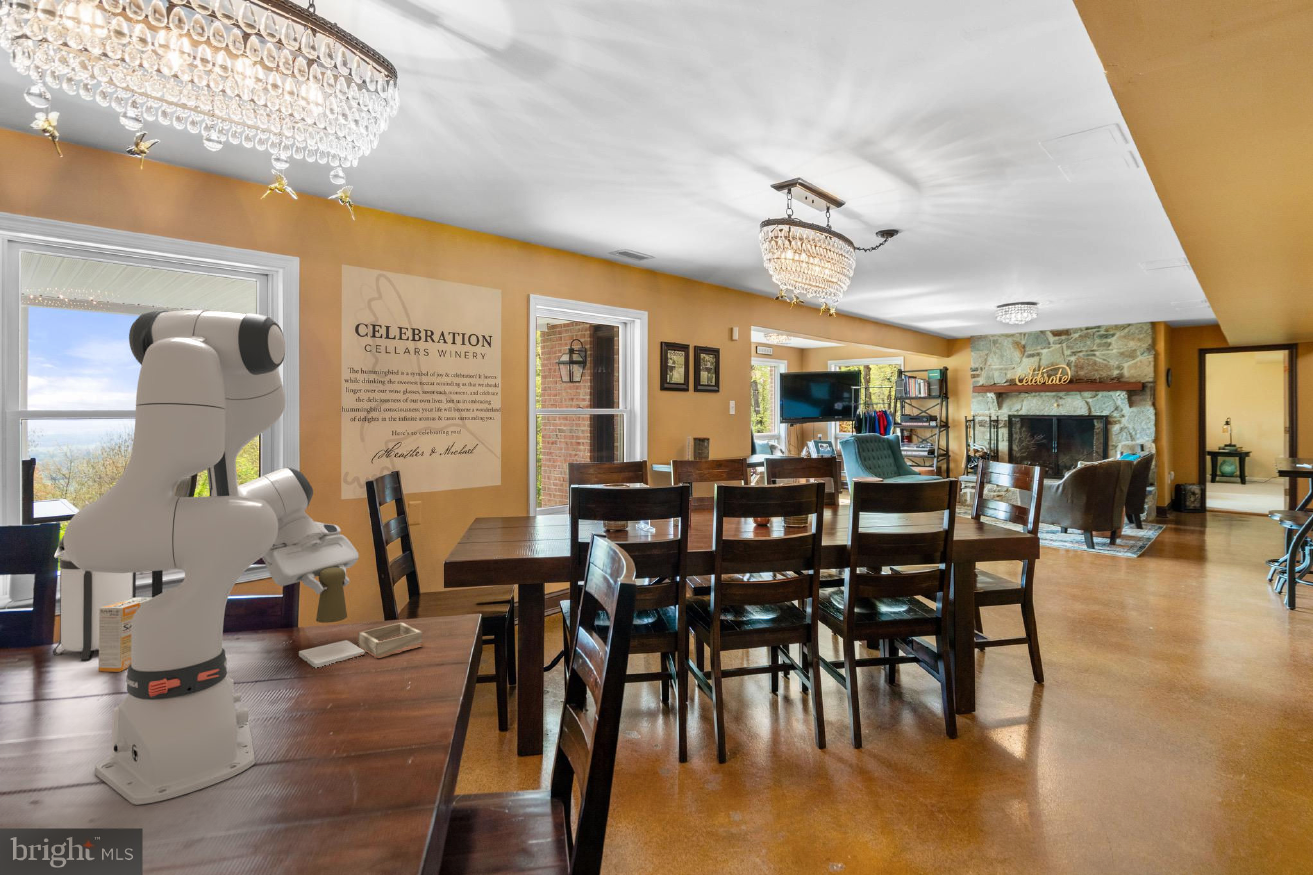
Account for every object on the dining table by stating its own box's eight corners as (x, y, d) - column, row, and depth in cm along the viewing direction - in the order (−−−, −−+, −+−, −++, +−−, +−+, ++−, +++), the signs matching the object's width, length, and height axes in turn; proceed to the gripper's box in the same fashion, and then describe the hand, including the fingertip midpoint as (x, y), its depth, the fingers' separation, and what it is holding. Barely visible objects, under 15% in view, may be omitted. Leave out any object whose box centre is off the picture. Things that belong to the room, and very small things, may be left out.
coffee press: (131, 656, 130) (132, 518, 130) (34, 666, 124) (35, 521, 124) (163, 631, 146) (164, 508, 146) (78, 639, 140) (79, 510, 140)
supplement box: (120, 672, 122) (121, 607, 122) (97, 671, 122) (97, 607, 122) (155, 657, 130) (155, 596, 130) (133, 656, 130) (134, 596, 130)
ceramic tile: (364, 655, 133) (364, 650, 133) (315, 668, 125) (315, 663, 125) (346, 644, 140) (346, 639, 140) (298, 655, 132) (298, 651, 132)
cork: (353, 614, 135) (353, 565, 135) (335, 623, 129) (336, 572, 129) (327, 613, 136) (328, 564, 136) (309, 621, 130) (310, 570, 130)
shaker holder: (421, 647, 138) (422, 631, 138) (377, 659, 131) (377, 643, 131) (401, 636, 145) (401, 622, 145) (358, 647, 138) (358, 632, 138)
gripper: (265, 539, 124) (302, 590, 122) (343, 524, 144) (376, 568, 141) (248, 558, 126) (284, 610, 123) (328, 541, 145) (360, 585, 143)
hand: (334, 588), depth 132 cm, fingers closed on cork, 5 cm apart
